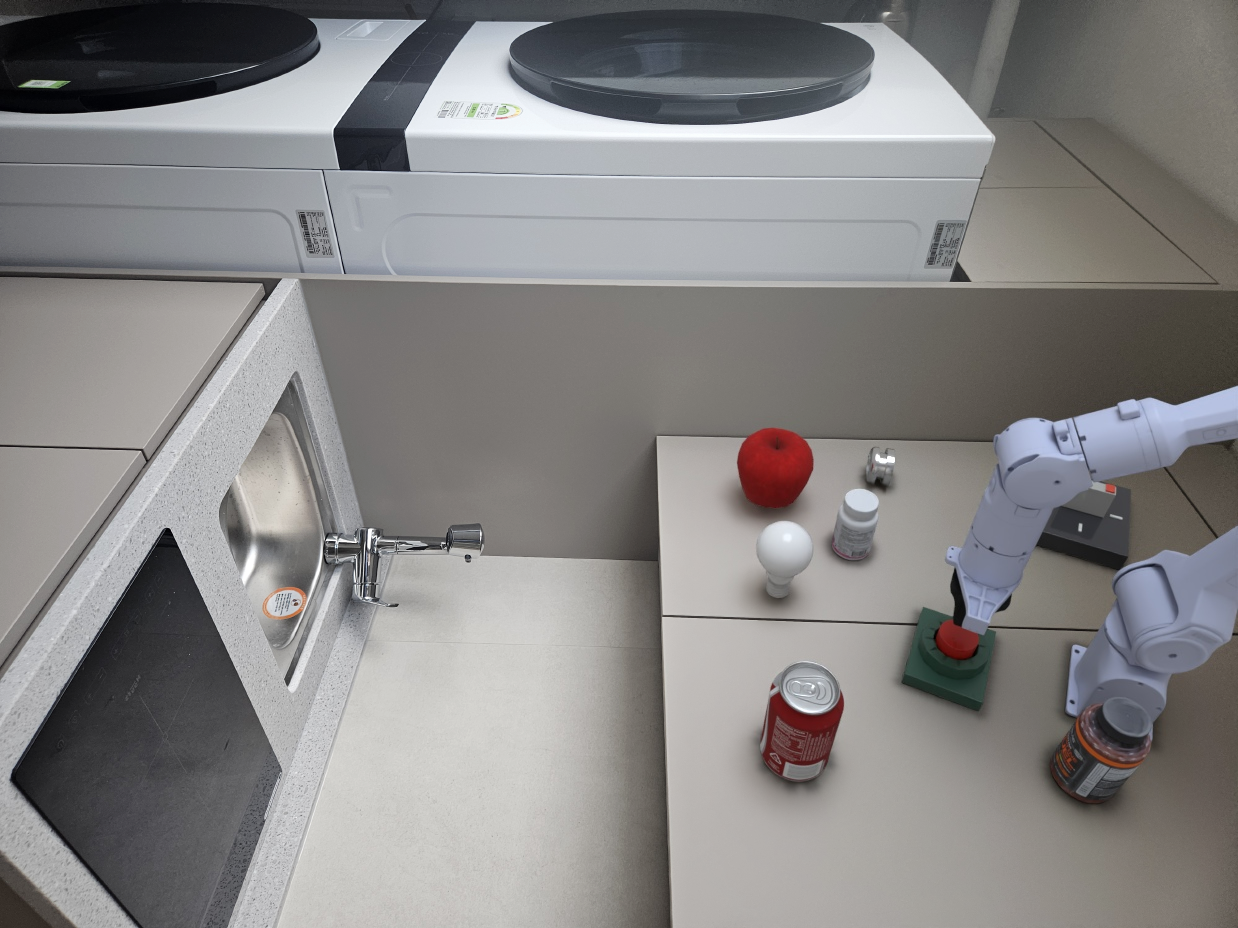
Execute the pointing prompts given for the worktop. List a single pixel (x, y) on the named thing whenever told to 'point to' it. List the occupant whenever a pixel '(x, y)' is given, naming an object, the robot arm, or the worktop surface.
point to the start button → (956, 641)
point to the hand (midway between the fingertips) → (964, 622)
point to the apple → (774, 467)
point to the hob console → (1091, 532)
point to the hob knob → (1093, 499)
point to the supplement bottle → (1102, 749)
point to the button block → (947, 664)
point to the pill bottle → (855, 524)
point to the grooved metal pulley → (880, 465)
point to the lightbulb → (783, 554)
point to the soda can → (801, 721)
